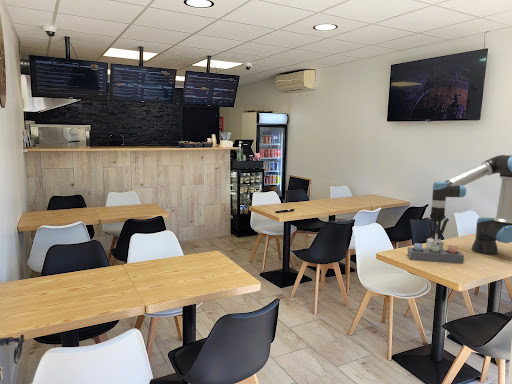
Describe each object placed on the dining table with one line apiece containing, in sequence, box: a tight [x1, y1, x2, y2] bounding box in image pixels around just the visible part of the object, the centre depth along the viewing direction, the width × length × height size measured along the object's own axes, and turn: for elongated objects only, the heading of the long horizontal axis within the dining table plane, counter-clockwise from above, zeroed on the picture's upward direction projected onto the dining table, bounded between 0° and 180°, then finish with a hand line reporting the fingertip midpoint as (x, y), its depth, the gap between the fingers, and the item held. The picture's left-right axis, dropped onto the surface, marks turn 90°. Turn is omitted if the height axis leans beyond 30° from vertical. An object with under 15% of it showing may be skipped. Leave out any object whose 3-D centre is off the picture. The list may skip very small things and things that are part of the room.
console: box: [407, 246, 465, 265], centre depth 237 cm, size 30×11×5 cm, turn 77°
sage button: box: [431, 244, 440, 253], centre depth 236 cm, size 5×5×5 cm
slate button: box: [413, 242, 423, 252], centre depth 238 cm, size 5×5×5 cm
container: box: [425, 231, 444, 250], centre depth 253 cm, size 8×8×13 cm
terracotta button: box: [447, 244, 458, 254], centre depth 234 cm, size 5×5×5 cm
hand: (435, 244), depth 236 cm, fingers closed
